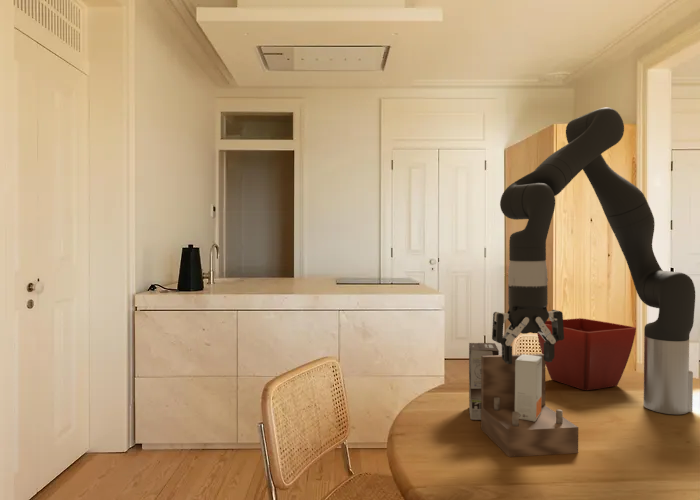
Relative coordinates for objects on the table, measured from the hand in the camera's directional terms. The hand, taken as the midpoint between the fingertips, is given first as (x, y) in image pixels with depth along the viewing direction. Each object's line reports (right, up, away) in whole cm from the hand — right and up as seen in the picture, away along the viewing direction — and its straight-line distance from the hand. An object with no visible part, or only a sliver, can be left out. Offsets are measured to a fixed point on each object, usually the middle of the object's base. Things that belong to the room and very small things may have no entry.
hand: (528, 362), depth 103 cm
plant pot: (+30, -15, +41) cm, 54 cm away
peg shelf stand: (0, -16, +1) cm, 16 cm away
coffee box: (-5, -16, +16) cm, 23 cm away
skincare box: (0, -11, 0) cm, 11 cm away
